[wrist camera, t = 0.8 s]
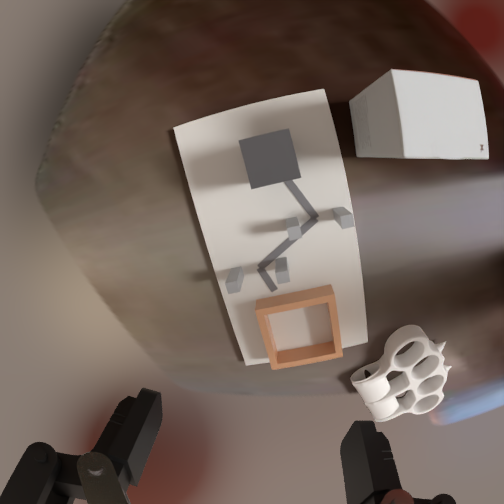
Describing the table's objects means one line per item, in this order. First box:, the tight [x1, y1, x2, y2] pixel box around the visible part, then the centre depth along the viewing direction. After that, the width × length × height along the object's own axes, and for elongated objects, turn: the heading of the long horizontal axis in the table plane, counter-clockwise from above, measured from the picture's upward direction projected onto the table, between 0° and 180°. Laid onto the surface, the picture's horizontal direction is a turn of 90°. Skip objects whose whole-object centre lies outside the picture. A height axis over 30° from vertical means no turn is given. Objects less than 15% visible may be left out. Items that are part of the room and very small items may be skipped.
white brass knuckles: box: [350, 325, 452, 422], centre depth 36 cm, size 3×18×15 cm
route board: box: [174, 89, 368, 366], centre depth 30 cm, size 16×30×5 cm, turn 14°
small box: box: [349, 69, 489, 159], centre depth 21 cm, size 8×6×13 cm
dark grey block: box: [238, 128, 301, 189], centre depth 25 cm, size 4×4×7 cm
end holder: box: [255, 284, 343, 370], centre depth 33 cm, size 9×9×2 cm
